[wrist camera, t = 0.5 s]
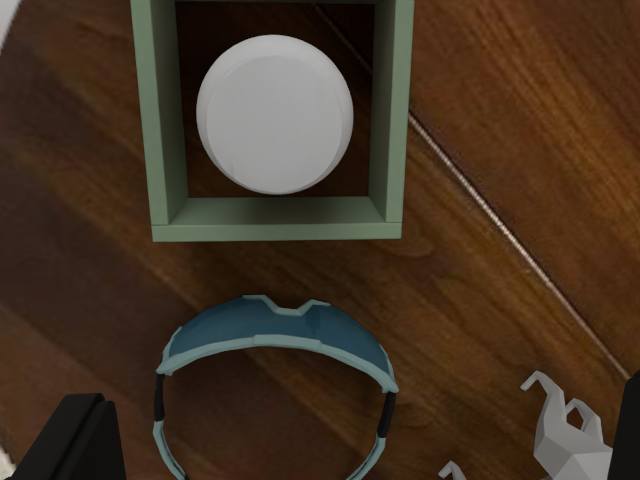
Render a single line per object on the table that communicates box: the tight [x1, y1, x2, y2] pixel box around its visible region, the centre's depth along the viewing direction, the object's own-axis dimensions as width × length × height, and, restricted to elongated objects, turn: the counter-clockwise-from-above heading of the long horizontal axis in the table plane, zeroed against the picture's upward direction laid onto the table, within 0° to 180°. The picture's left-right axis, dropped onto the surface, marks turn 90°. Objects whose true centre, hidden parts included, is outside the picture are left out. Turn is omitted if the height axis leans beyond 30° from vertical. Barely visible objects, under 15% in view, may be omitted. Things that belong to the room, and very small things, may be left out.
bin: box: [130, 0, 414, 242], centre depth 26 cm, size 12×12×6 cm
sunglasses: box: [153, 295, 399, 480], centre depth 32 cm, size 14×15×5 cm
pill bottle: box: [196, 35, 353, 194], centre depth 23 cm, size 6×6×11 cm
